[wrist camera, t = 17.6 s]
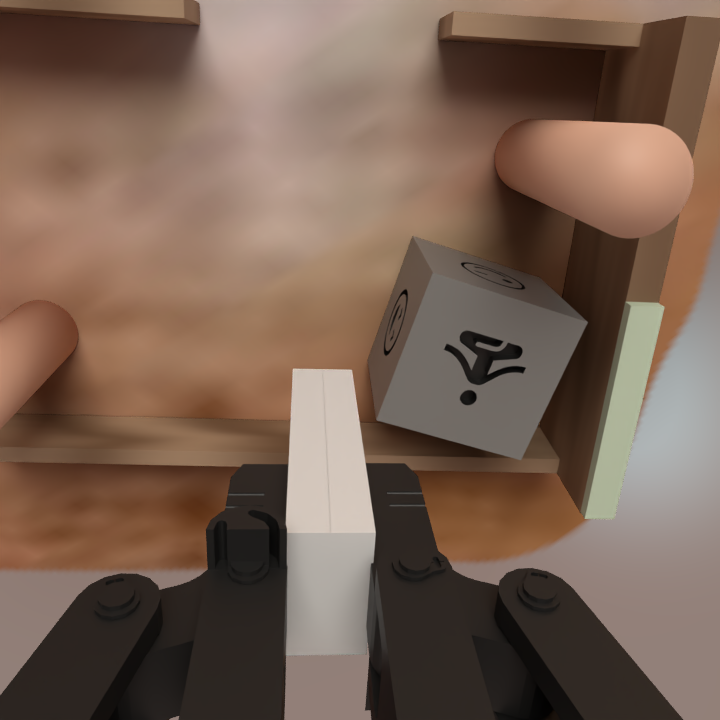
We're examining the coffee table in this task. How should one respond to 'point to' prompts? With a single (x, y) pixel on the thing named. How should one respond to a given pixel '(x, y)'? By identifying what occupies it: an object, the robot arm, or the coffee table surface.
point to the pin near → (599, 172)
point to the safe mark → (621, 408)
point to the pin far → (32, 351)
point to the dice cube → (470, 350)
